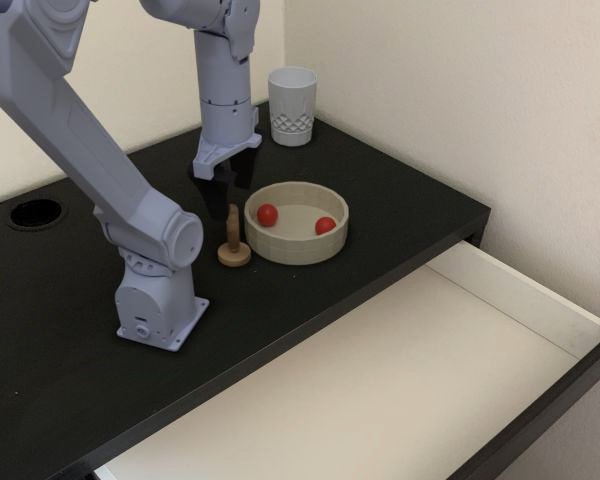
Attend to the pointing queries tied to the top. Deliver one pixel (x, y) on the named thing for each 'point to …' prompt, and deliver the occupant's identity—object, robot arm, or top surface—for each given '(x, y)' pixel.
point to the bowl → (296, 223)
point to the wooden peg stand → (233, 243)
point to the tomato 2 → (324, 225)
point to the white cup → (292, 104)
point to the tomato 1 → (267, 214)
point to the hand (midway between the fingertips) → (231, 202)
